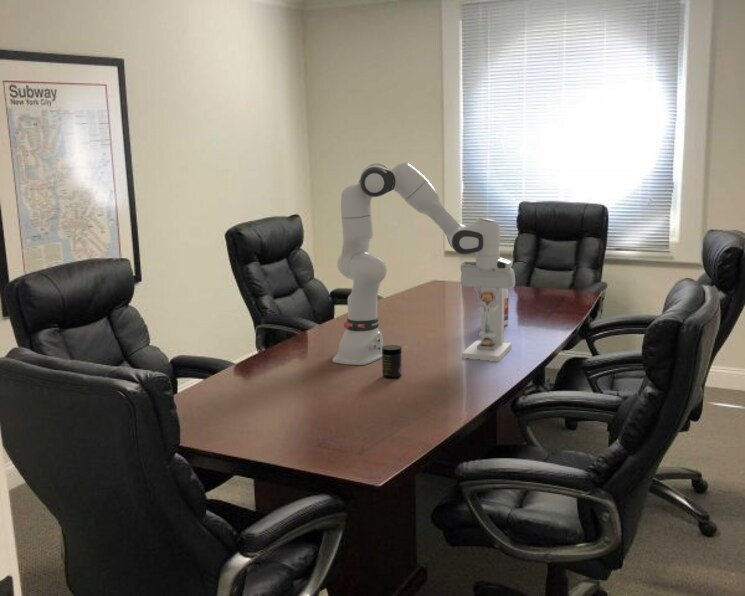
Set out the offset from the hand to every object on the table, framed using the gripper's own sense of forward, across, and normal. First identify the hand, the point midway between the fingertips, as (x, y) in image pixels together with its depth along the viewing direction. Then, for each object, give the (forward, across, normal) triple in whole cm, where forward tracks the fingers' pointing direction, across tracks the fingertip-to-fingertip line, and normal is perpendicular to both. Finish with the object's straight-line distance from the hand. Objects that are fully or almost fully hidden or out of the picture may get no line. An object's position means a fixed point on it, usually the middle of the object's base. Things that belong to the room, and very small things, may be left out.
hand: (487, 299), depth 298 cm
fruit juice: (+21, -8, +48) cm, 53 cm away
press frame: (+21, 0, 0) cm, 21 cm away
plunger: (+14, 0, 0) cm, 14 cm away
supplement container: (+21, -23, -40) cm, 51 cm away
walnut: (+17, 0, 0) cm, 17 cm away
